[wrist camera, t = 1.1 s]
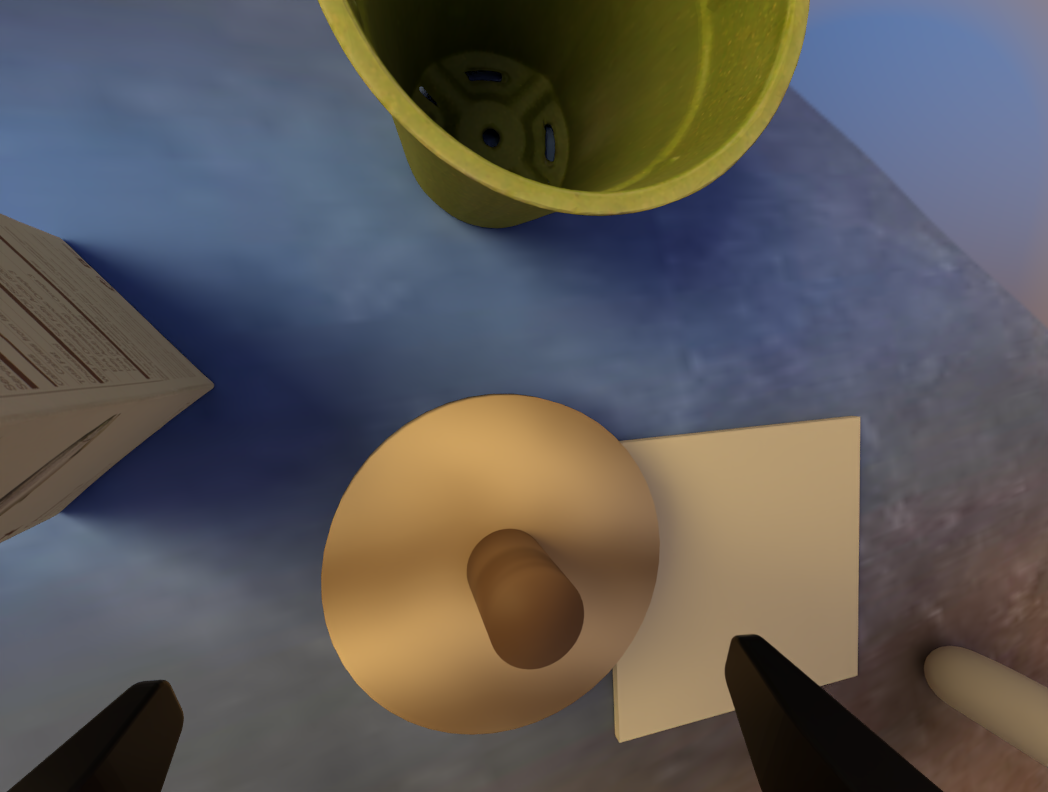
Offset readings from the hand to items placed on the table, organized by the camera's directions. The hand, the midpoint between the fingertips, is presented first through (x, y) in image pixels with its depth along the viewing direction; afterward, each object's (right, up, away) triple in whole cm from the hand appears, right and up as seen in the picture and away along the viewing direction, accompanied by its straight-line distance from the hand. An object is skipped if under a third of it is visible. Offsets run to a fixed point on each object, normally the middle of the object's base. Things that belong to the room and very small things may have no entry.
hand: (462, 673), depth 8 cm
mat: (+12, -5, +19) cm, 23 cm away
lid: (0, -2, +12) cm, 12 cm away
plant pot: (-1, +15, +14) cm, 20 cm away
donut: (+27, -12, +24) cm, 38 cm away
